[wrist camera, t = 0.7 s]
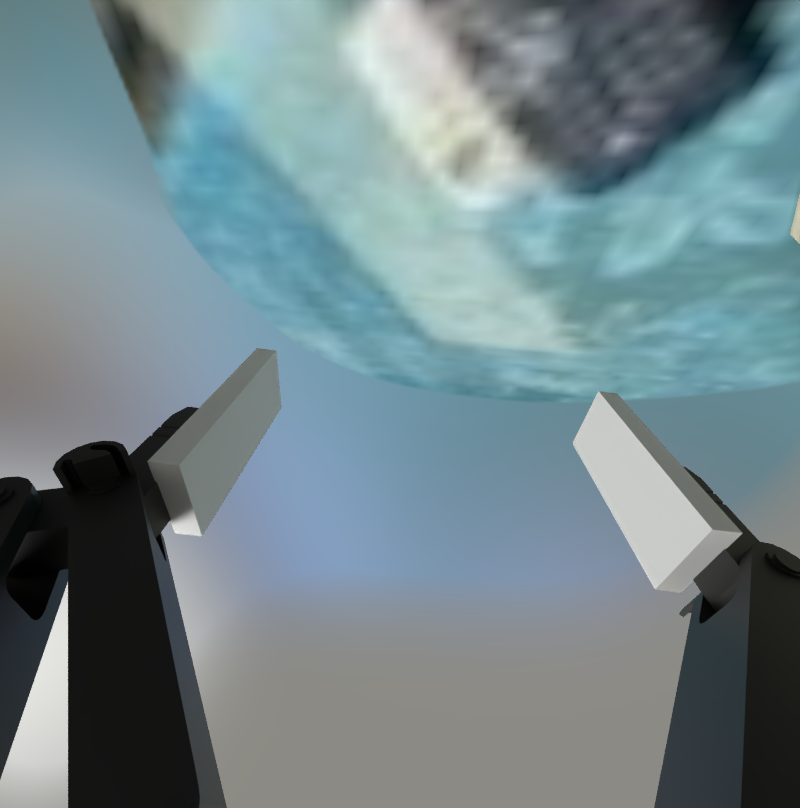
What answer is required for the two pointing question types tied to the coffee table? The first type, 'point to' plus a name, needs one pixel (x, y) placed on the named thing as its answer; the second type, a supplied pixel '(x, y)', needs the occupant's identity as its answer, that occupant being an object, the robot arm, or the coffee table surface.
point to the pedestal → (796, 224)
